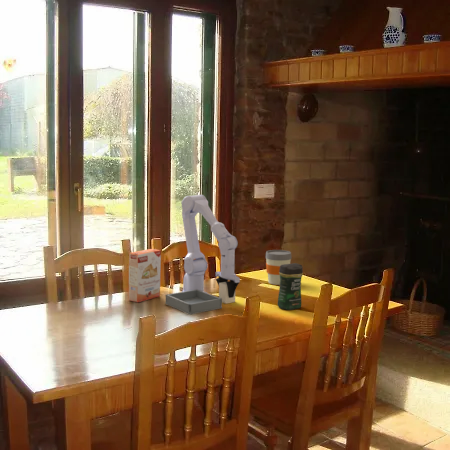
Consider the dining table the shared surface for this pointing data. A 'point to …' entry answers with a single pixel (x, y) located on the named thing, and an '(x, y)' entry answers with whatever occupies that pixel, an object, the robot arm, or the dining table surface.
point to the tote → (193, 301)
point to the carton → (225, 293)
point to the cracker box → (144, 275)
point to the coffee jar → (290, 286)
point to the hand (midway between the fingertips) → (227, 295)
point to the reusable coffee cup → (276, 264)
